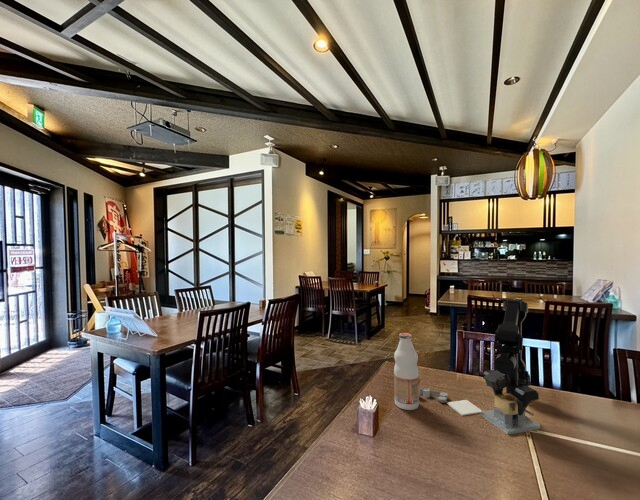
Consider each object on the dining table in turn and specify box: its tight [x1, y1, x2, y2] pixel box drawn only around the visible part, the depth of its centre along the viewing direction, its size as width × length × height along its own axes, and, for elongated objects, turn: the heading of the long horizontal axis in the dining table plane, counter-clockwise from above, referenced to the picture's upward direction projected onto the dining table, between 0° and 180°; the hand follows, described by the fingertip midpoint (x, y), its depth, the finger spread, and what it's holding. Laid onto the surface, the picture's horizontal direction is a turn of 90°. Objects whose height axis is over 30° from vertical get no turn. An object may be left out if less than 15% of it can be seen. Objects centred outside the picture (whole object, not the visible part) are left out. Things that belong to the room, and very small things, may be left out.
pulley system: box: [419, 387, 449, 404], centre depth 134 cm, size 27×5×15 cm
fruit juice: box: [393, 332, 420, 411], centre depth 122 cm, size 9×9×28 cm
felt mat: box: [446, 399, 483, 417], centre depth 118 cm, size 9×9×1 cm
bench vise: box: [480, 399, 541, 436], centre depth 109 cm, size 14×12×8 cm
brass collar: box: [493, 392, 526, 415], centre depth 109 cm, size 6×6×4 cm
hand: (509, 408), depth 109 cm, fingers open, 9 cm apart
